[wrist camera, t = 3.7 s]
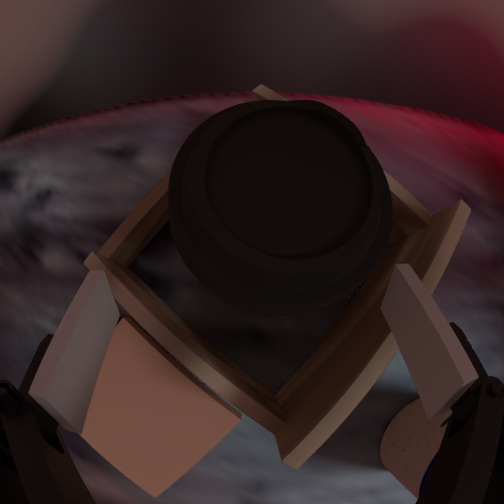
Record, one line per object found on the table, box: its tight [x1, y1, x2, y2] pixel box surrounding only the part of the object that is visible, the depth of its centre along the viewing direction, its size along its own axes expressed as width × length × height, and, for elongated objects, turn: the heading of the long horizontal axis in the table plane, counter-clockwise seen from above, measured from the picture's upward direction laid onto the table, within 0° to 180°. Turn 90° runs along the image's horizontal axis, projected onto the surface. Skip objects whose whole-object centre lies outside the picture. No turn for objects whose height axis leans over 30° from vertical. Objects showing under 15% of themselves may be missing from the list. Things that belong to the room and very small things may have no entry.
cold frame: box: [83, 84, 471, 469], centre depth 19 cm, size 18×18×10 cm
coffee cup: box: [168, 100, 393, 315], centre depth 16 cm, size 9×9×15 cm
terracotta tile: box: [79, 317, 241, 498], centre depth 20 cm, size 12×12×2 cm
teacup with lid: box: [380, 398, 452, 499], centre depth 15 cm, size 12×9×12 cm
